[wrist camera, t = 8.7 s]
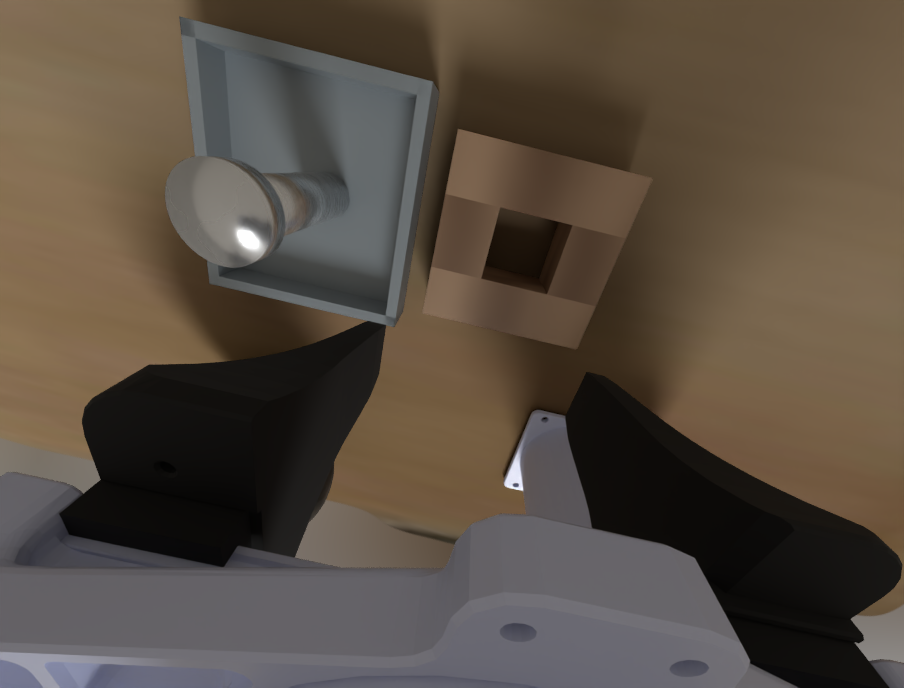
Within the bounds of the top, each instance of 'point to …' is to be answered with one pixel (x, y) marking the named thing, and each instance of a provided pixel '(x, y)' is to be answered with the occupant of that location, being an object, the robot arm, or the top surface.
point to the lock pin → (246, 207)
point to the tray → (318, 162)
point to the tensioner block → (571, 251)
